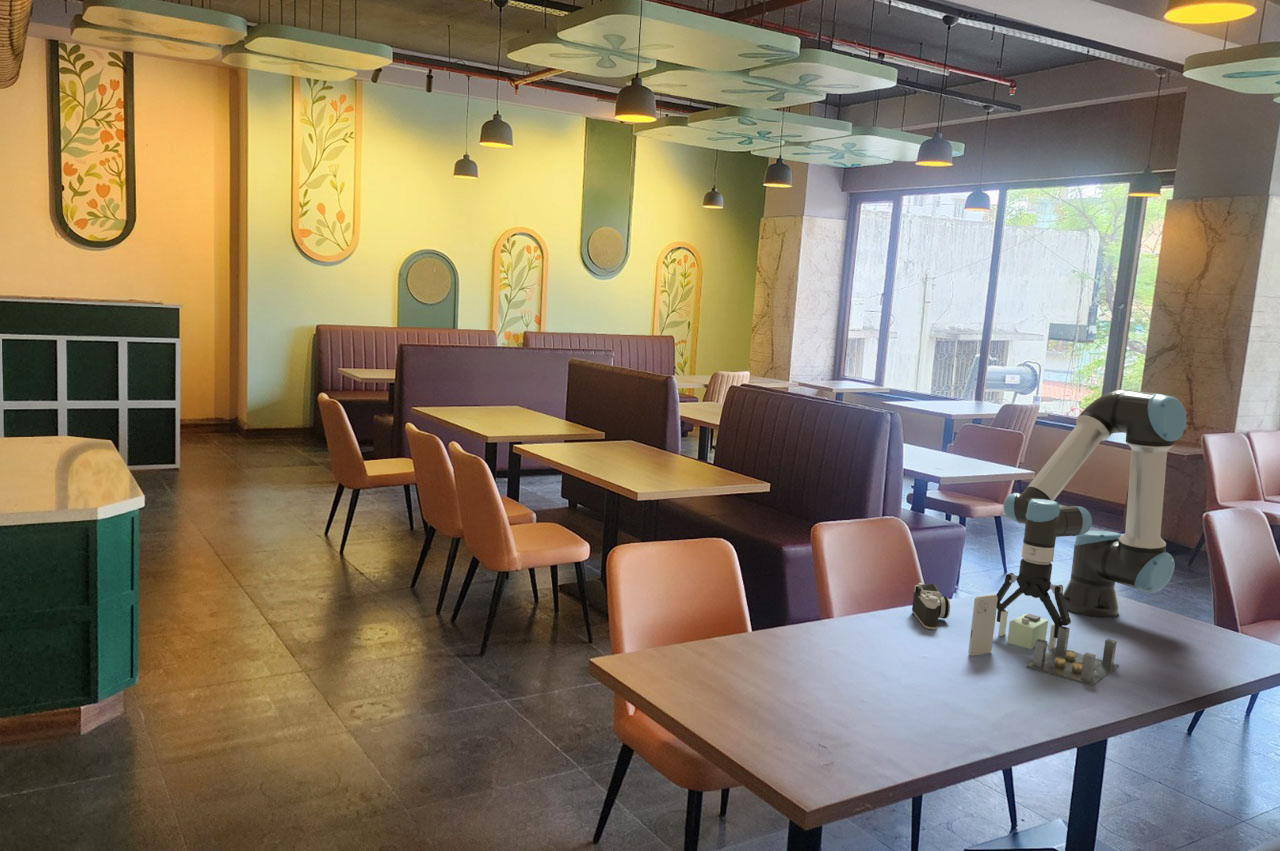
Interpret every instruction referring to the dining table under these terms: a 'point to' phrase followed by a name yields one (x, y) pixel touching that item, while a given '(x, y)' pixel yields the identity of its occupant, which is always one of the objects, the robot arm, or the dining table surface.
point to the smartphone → (983, 624)
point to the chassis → (1073, 660)
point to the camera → (929, 605)
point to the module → (1027, 630)
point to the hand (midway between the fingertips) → (1026, 642)
